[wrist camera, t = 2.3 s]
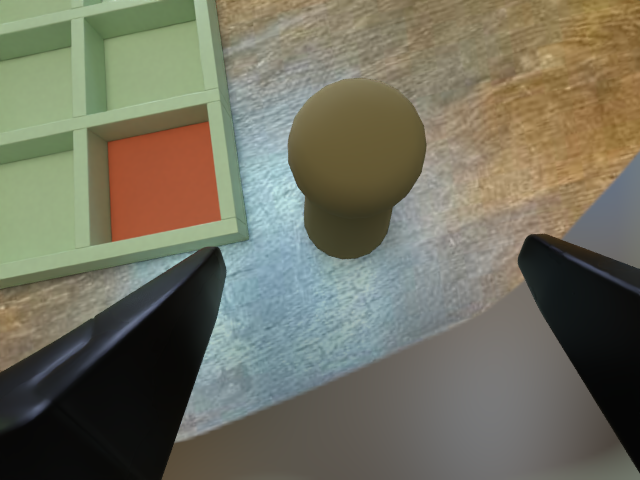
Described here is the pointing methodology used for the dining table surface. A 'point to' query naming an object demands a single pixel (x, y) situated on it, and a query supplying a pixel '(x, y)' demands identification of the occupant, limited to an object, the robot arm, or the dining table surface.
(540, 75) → the dining table surface
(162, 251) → the grid
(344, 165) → the cork
